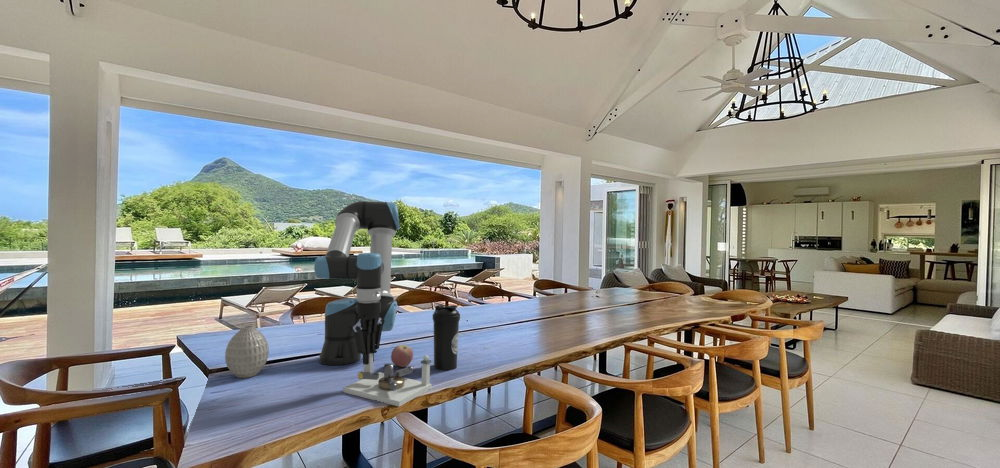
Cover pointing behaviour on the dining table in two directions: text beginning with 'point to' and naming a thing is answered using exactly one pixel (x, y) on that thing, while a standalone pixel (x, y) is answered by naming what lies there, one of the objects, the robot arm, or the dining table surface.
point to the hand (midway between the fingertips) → (368, 373)
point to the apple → (402, 355)
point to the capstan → (388, 377)
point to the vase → (246, 352)
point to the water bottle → (446, 337)
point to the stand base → (398, 397)
